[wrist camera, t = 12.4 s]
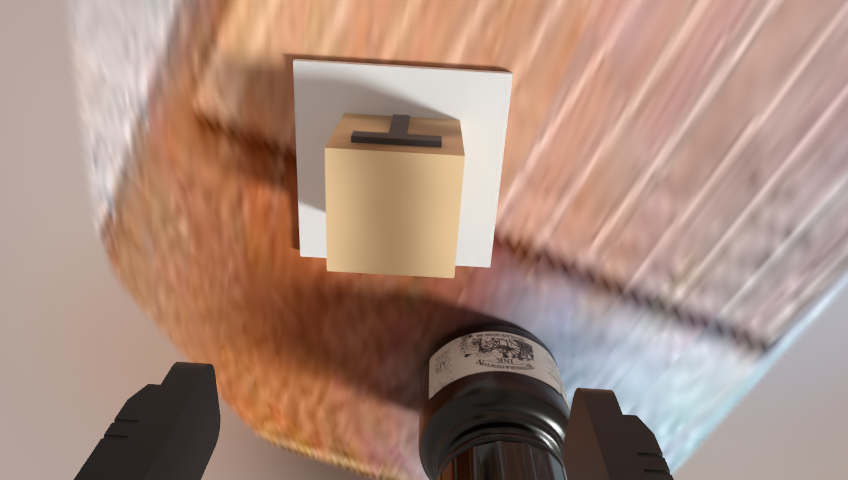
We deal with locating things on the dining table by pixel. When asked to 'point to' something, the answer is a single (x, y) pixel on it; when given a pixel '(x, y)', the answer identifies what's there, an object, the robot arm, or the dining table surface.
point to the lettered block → (393, 195)
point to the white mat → (417, 97)
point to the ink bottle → (492, 408)
